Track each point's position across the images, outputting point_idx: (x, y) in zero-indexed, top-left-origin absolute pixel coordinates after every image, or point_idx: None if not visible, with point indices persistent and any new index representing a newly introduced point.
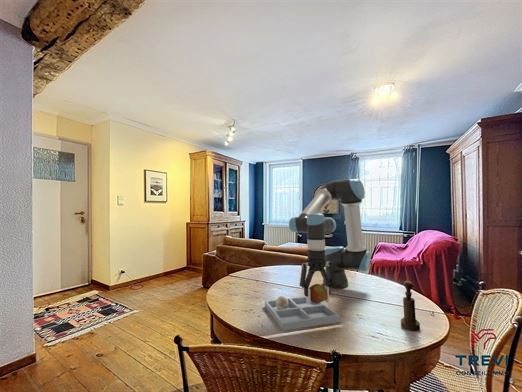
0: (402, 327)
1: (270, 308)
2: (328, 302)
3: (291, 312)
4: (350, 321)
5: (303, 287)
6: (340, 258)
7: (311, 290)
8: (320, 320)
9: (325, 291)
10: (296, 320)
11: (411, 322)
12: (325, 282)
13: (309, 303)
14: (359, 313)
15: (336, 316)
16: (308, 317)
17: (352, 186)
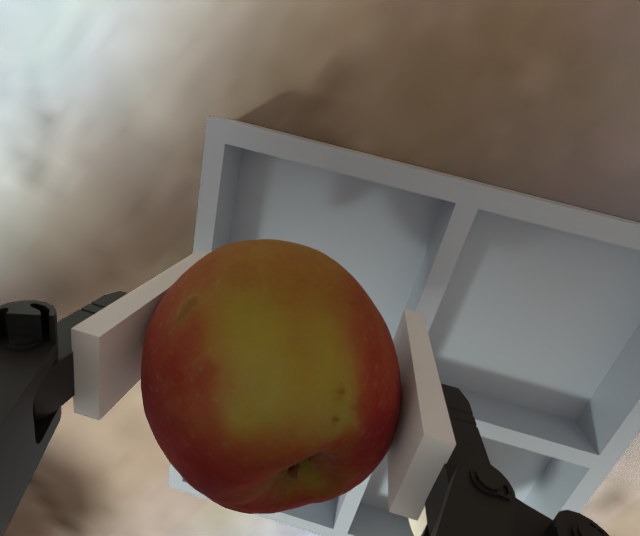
0: None
1: (582, 505)
2: (204, 254)
3: None
4: (142, 116)
5: (572, 516)
6: None
7: (386, 413)
8: (395, 162)
9: (192, 287)
10: (610, 241)
11: None
12: (37, 443)
13: (418, 318)
14: (13, 179)
15: (243, 124)
16: (465, 236)
17: None
